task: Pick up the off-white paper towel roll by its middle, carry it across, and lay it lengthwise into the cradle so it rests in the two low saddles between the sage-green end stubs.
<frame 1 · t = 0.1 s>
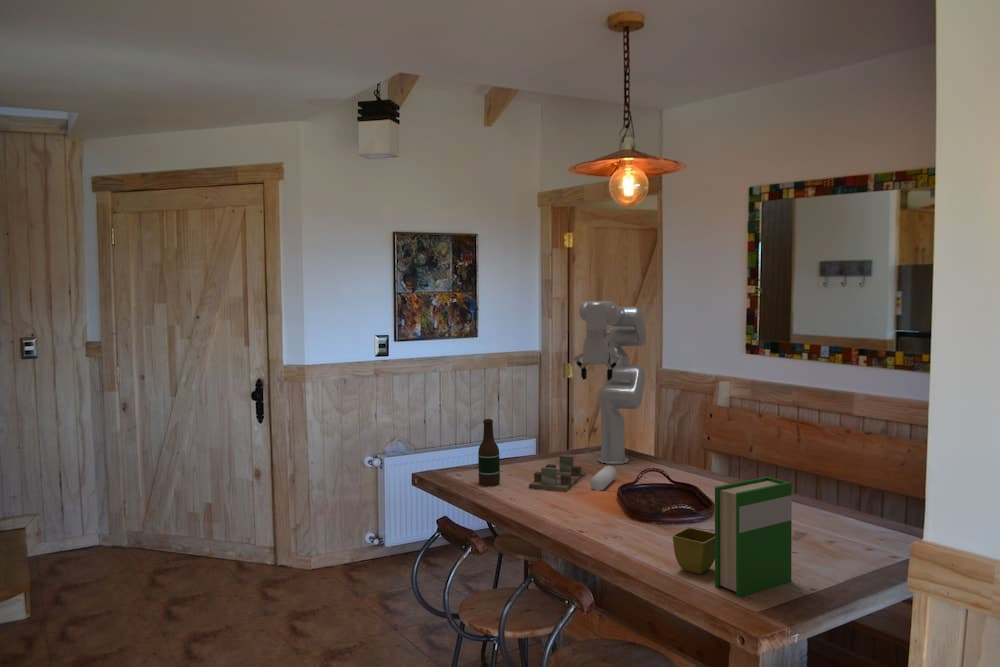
hand: (596, 379, 288), 37 cm above the table, tool pointing down, fingers open, 9 cm apart
roll: (603, 485, 275), on the table
beer bottle: (489, 484, 279), on the table
cradle: (558, 481, 281), on the table
hardback book: (753, 585, 181), on the table
flower pot: (696, 570, 191), on the table
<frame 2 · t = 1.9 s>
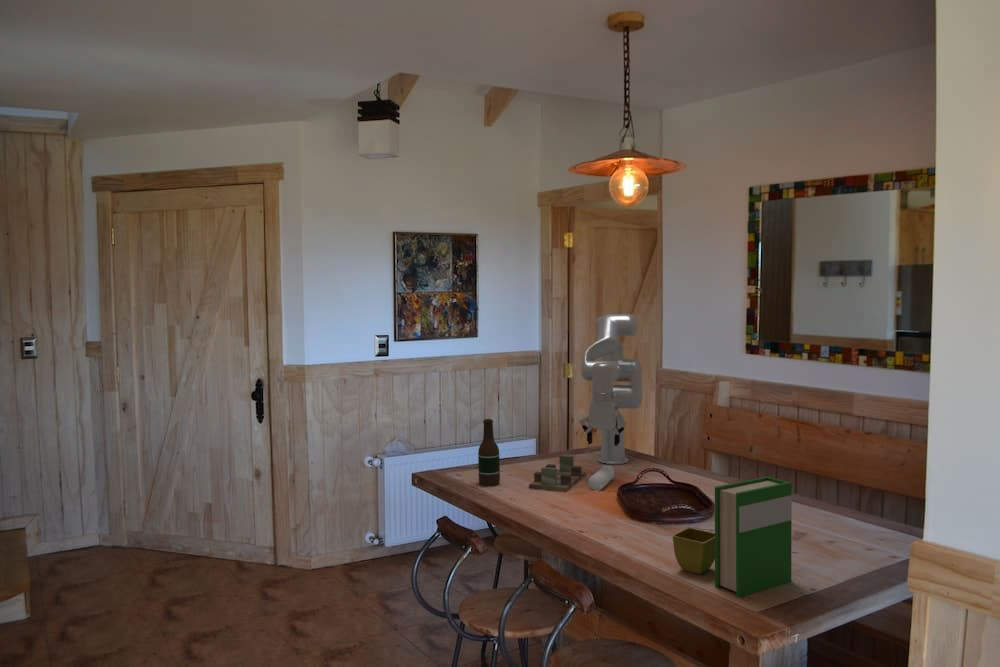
hand: (603, 444, 274), 15 cm above the table, tool pointing down, fingers open, 9 cm apart
roll: (603, 485, 275), on the table, tilted 15°
everything else where it was.
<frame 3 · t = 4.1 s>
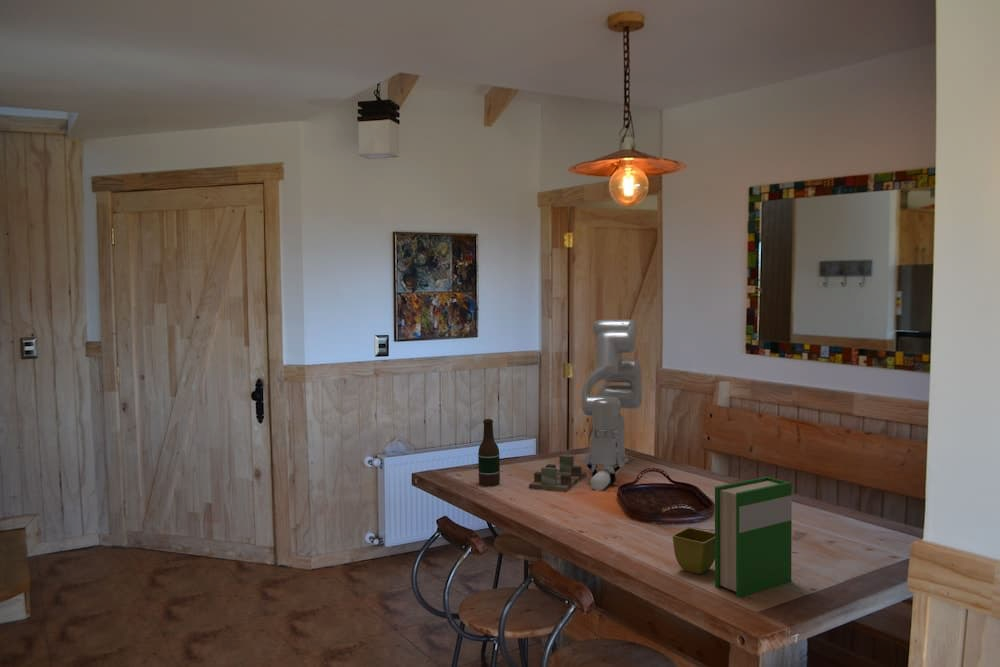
hand: (603, 482, 275), 1 cm above the table, tool pointing down, fingers closed on roll, 5 cm apart
roll: (604, 485, 275), on the table, touching gripper
everything else where it was.
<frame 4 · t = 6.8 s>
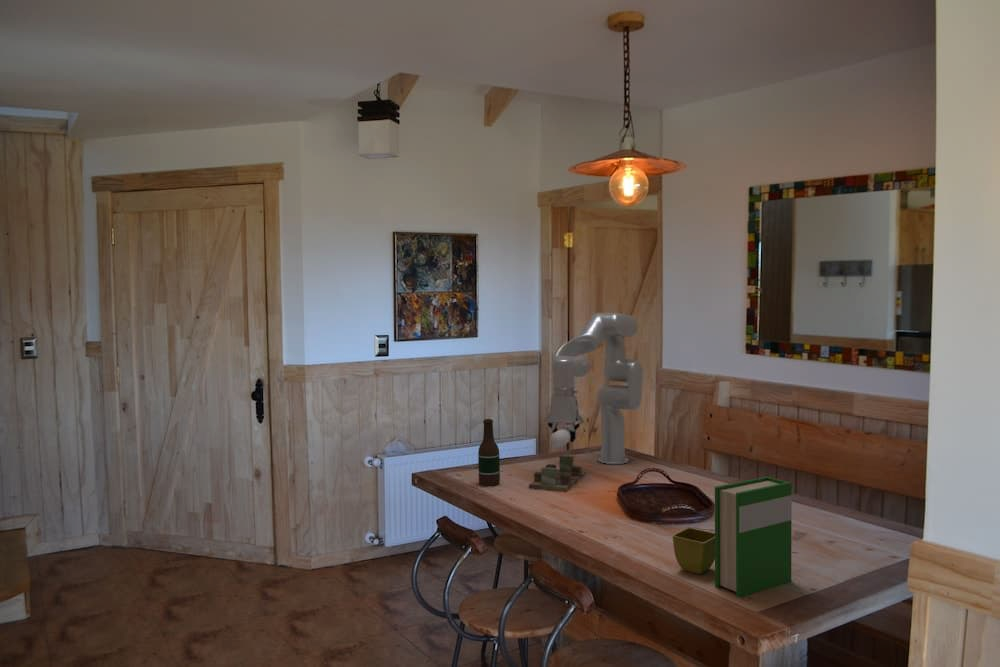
hand: (564, 440, 279), 16 cm above the table, tool pointing down, fingers closed on roll, 5 cm apart
roll: (564, 443, 279), point 15 cm above the table, touching gripper
everything else where it was.
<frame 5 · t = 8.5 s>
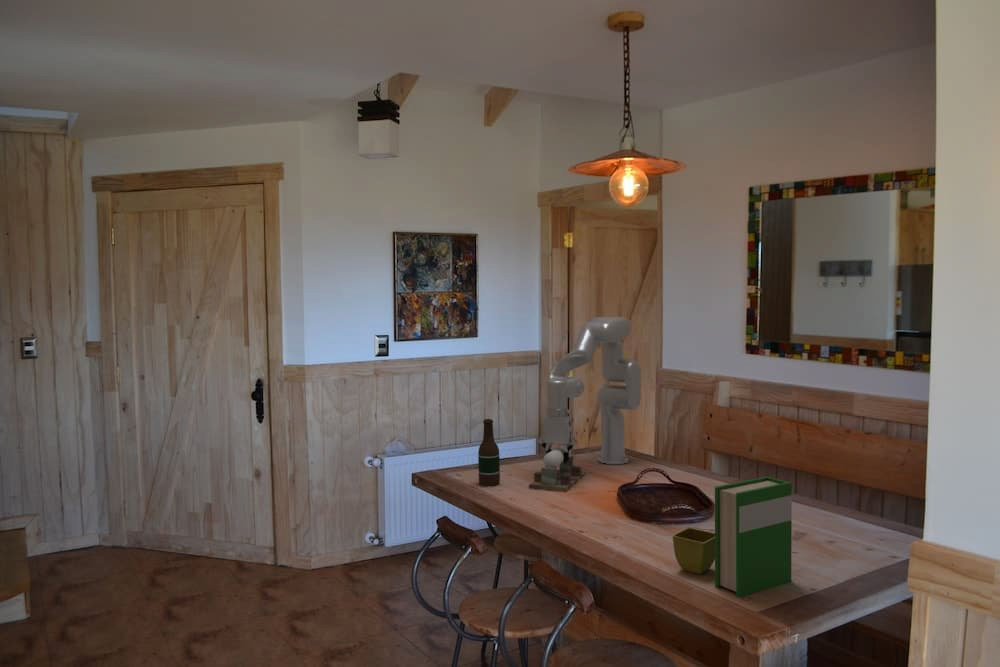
hand: (557, 461, 280), 8 cm above the table, tool pointing down, fingers closed on roll, 5 cm apart
roll: (557, 463, 280), point 7 cm above the table, touching gripper
everything else where it was.
when the fingers open (4 cm above the table, at t = 9.7 s): roll drops 1 cm, resting on cradle.
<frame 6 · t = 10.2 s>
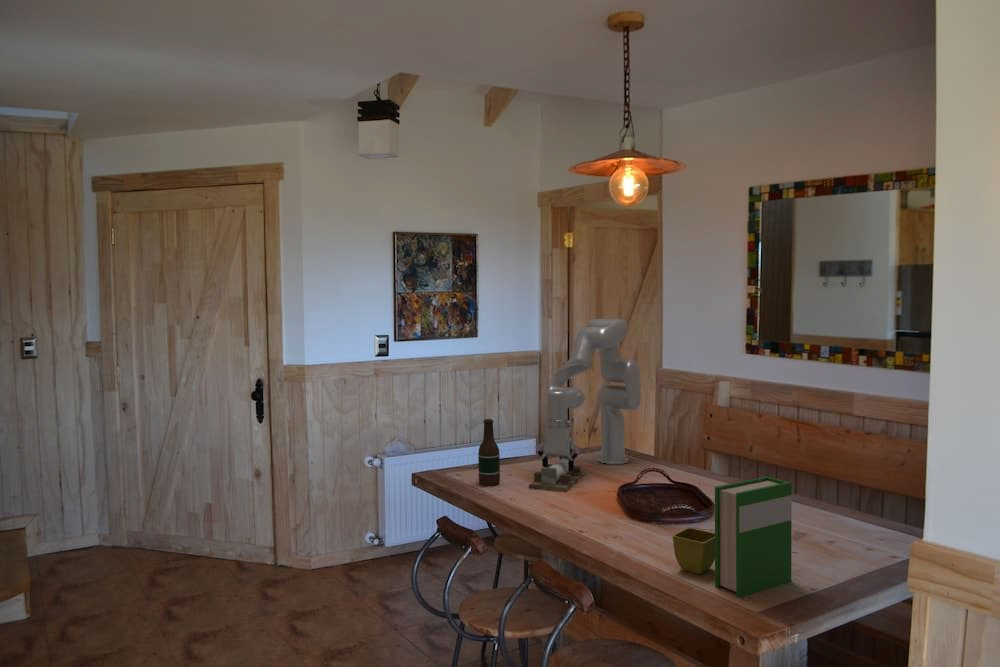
hand: (558, 469, 281), 5 cm above the table, tool pointing down, fingers open, 9 cm apart
roll: (558, 477, 281), point 1 cm above the table, touching cradle
everything else where it was.
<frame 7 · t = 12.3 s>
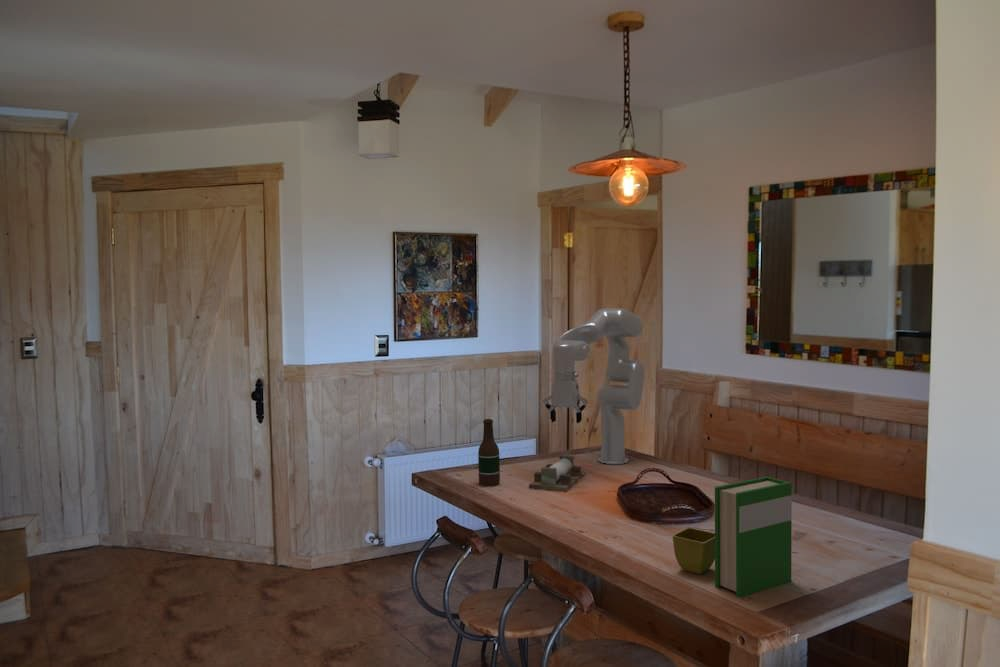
hand: (566, 422, 282), 22 cm above the table, tool pointing down, fingers open, 9 cm apart
nothing on the table moved.
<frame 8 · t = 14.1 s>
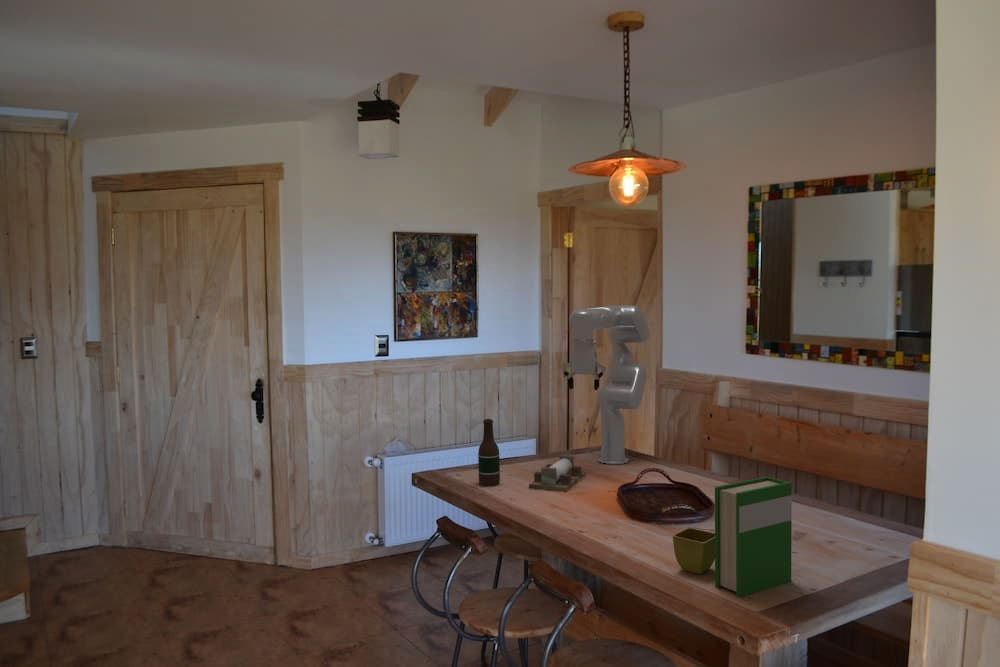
hand: (583, 389, 286), 33 cm above the table, tool pointing down, fingers open, 9 cm apart
nothing on the table moved.
at the end: roll 0.1 cm off-centre on the cradle, point 1.5 cm above the cradle's base; roll touching cradle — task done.
